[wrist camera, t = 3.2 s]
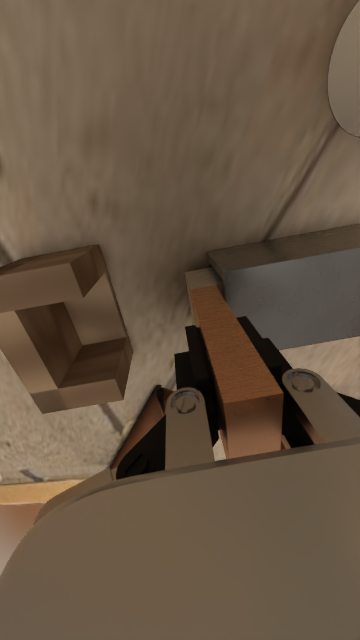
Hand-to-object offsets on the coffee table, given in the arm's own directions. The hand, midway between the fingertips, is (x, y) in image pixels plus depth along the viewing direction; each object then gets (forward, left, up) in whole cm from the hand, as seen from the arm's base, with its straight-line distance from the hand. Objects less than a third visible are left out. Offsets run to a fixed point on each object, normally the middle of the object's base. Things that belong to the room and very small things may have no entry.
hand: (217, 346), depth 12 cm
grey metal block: (0, +8, -9) cm, 12 cm away
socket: (0, -10, -9) cm, 13 cm away
